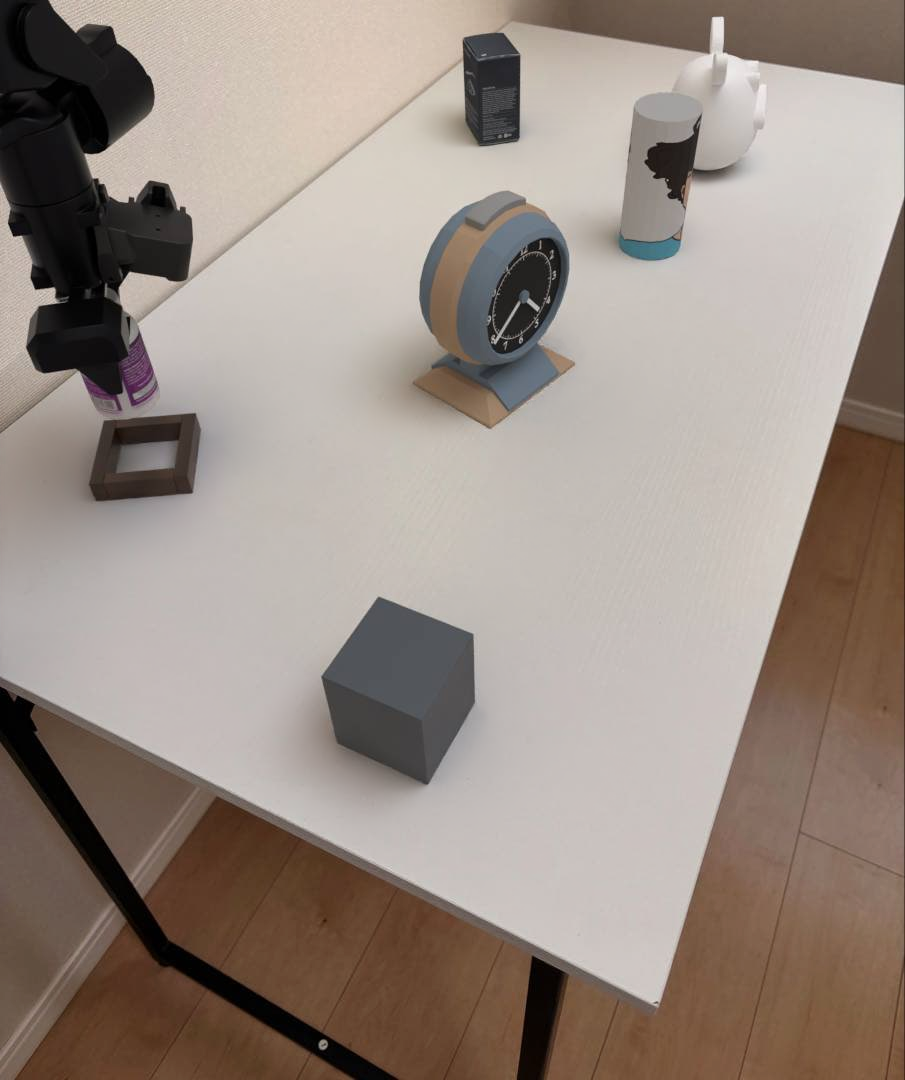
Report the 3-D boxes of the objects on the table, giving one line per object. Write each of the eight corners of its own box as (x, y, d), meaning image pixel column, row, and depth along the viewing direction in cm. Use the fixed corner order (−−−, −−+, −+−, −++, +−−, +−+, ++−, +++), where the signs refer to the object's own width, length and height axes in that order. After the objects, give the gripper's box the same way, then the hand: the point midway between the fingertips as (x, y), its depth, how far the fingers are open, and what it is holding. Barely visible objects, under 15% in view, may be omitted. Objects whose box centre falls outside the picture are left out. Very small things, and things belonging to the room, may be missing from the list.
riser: (336, 742, 63) (320, 676, 57) (388, 665, 67) (378, 595, 62) (427, 785, 61) (421, 720, 55) (475, 702, 65) (474, 633, 59)
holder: (95, 501, 80) (88, 484, 78) (110, 436, 85) (103, 420, 84) (192, 492, 80) (187, 476, 78) (201, 429, 85) (196, 412, 84)
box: (520, 141, 121) (522, 53, 113) (478, 147, 121) (477, 59, 113) (504, 115, 127) (504, 29, 119) (463, 120, 126) (461, 34, 118)
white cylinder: (688, 256, 102) (712, 118, 91) (628, 263, 102) (645, 125, 90) (669, 224, 107) (690, 89, 95) (611, 231, 106) (625, 95, 95)
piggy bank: (770, 182, 112) (801, 49, 101) (676, 192, 111) (696, 59, 100) (734, 135, 121) (759, 8, 109) (645, 145, 120) (661, 17, 109)
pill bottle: (152, 373, 79) (119, 273, 72) (168, 409, 76) (135, 308, 69) (88, 393, 78) (48, 292, 71) (102, 430, 75) (61, 329, 68)
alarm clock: (483, 434, 84) (482, 257, 71) (405, 388, 88) (391, 214, 75) (581, 359, 91) (597, 185, 77) (504, 320, 95) (507, 150, 82)
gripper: (172, 239, 58) (225, 430, 70) (168, 112, 70) (213, 293, 82) (-15, 265, 57) (71, 456, 68) (14, 131, 69) (83, 312, 81)
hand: (117, 371), depth 75 cm, fingers closed on pill bottle, 5 cm apart
